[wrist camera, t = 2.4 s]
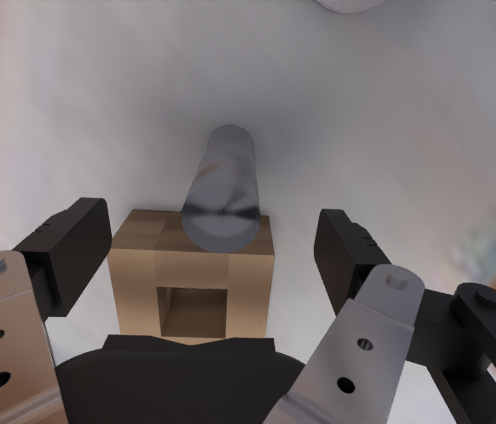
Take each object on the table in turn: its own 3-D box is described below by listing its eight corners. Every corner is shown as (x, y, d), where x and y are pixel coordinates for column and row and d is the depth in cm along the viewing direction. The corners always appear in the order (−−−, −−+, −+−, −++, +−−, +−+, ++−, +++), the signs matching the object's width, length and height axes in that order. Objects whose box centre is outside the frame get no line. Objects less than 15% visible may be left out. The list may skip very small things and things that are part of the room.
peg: (208, 123, 20) (179, 181, 11) (254, 126, 20) (263, 185, 11) (208, 168, 21) (182, 251, 12) (251, 170, 21) (257, 254, 13)
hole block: (132, 209, 23) (105, 248, 18) (268, 216, 23) (274, 255, 19) (153, 383, 32) (139, 437, 27) (251, 386, 32) (252, 439, 28)
